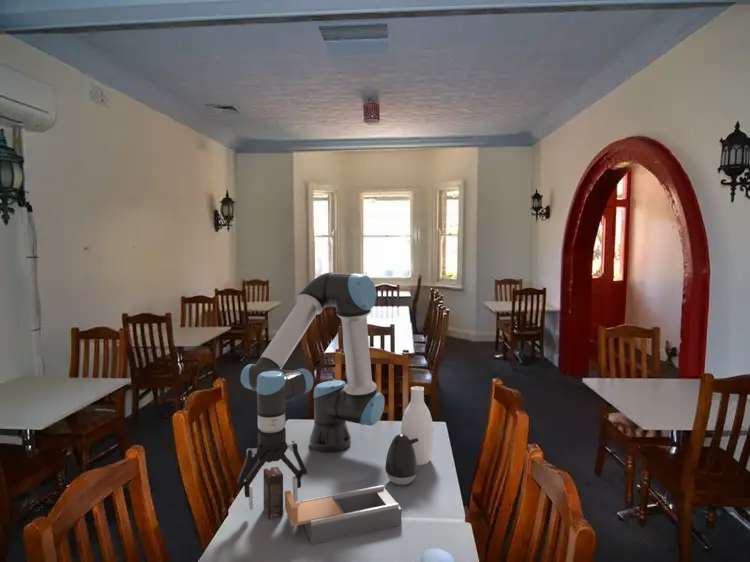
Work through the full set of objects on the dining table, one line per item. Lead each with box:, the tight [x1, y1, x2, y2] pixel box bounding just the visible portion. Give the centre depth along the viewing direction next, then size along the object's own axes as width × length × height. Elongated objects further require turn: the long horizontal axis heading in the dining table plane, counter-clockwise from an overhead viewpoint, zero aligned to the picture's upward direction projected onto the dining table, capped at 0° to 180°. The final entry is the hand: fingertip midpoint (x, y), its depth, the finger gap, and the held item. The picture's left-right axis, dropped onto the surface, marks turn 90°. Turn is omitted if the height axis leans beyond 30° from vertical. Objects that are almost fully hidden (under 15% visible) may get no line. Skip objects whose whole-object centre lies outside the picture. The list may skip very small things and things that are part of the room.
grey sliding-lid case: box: [300, 484, 402, 545], centre depth 143 cm, size 13×24×6 cm, turn 111°
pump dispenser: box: [384, 433, 419, 486], centre depth 165 cm, size 10×10×15 cm
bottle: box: [400, 385, 434, 466], centre depth 180 cm, size 11×11×25 cm
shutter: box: [284, 490, 341, 527], centre depth 139 cm, size 9×13×5 cm
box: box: [263, 466, 284, 520], centre depth 147 cm, size 6×4×12 cm
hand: (273, 503), depth 147 cm, fingers open, 12 cm apart
